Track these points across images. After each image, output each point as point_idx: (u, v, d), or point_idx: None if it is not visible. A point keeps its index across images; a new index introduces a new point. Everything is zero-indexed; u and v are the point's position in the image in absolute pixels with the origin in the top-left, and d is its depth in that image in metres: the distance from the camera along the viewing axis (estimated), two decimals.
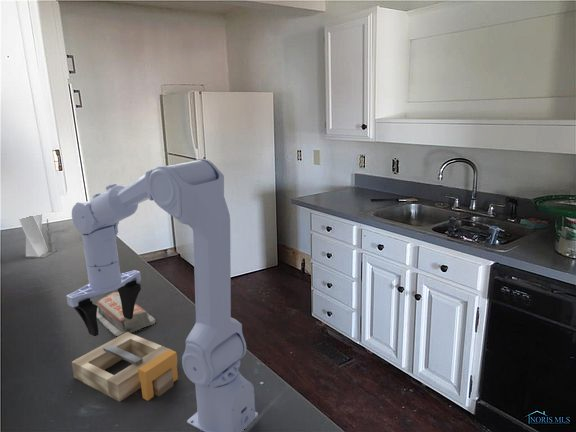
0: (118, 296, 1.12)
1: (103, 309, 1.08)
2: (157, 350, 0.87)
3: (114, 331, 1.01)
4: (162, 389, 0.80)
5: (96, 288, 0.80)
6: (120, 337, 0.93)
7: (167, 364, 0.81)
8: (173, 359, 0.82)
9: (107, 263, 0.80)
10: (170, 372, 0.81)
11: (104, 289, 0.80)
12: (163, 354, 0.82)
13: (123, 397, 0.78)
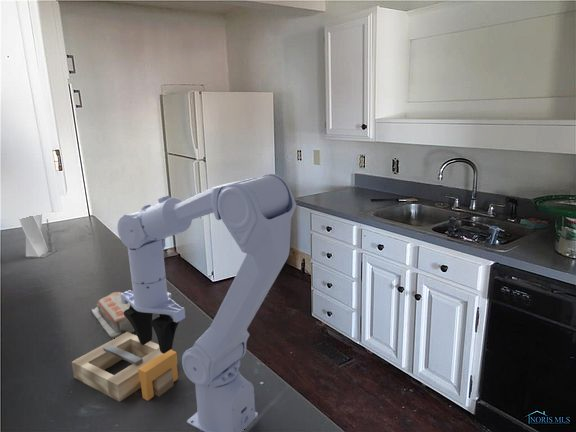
0: (118, 296, 1.12)
1: (102, 309, 1.08)
2: (157, 350, 0.87)
3: (109, 332, 1.01)
4: (162, 389, 0.80)
5: None
6: (120, 337, 0.93)
7: (167, 364, 0.81)
8: (173, 359, 0.82)
9: (155, 280, 0.73)
10: (170, 372, 0.81)
11: (133, 304, 0.76)
12: (163, 354, 0.82)
13: (123, 397, 0.78)
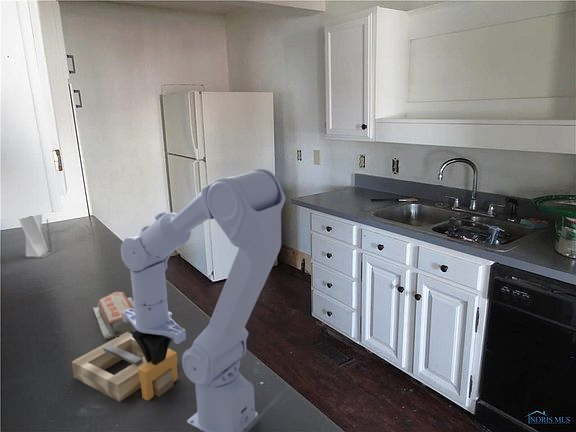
0: (118, 296, 1.12)
1: (101, 308, 1.08)
2: None
3: (104, 332, 1.01)
4: (162, 389, 0.80)
5: None
6: (120, 337, 0.93)
7: (167, 364, 0.81)
8: (173, 359, 0.82)
9: (157, 302, 0.74)
10: (170, 372, 0.81)
11: (134, 324, 0.77)
12: None
13: (123, 397, 0.78)
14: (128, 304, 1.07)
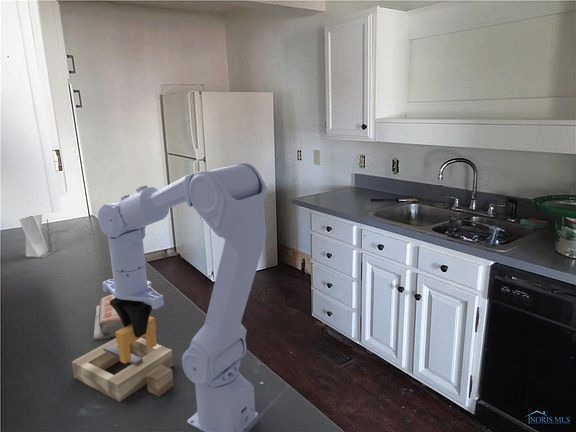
0: None
1: (99, 307, 1.08)
2: (157, 350, 0.87)
3: (95, 333, 1.01)
4: (162, 389, 0.80)
5: None
6: None
7: None
8: (151, 324, 0.83)
9: (134, 268, 0.76)
10: (170, 372, 0.81)
11: (113, 291, 0.78)
12: None
13: (123, 397, 0.78)
14: None
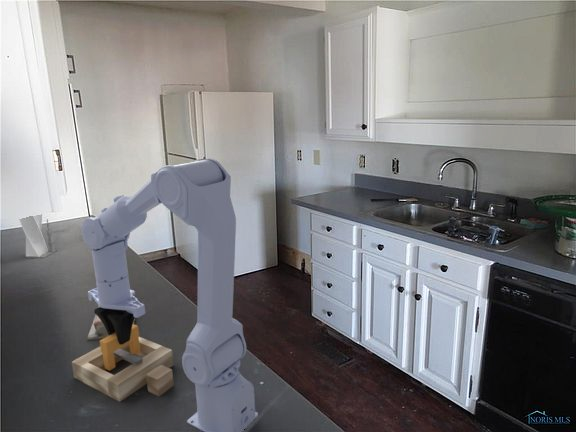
0: None
1: None
2: (157, 350, 0.87)
3: (90, 332, 1.01)
4: (162, 389, 0.80)
5: None
6: None
7: None
8: (134, 332, 0.87)
9: (117, 278, 0.79)
10: (170, 372, 0.81)
11: (97, 300, 0.82)
12: None
13: (123, 397, 0.78)
14: None
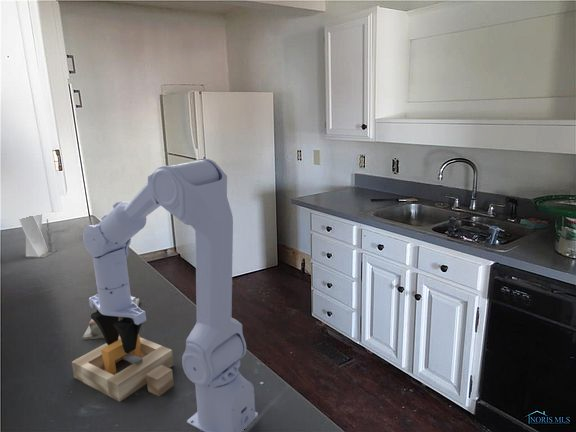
0: None
1: None
2: (157, 350, 0.87)
3: (86, 332, 1.01)
4: (162, 389, 0.80)
5: None
6: (120, 337, 0.93)
7: None
8: None
9: (118, 285, 0.80)
10: (170, 372, 0.81)
11: (98, 307, 0.82)
12: None
13: (123, 397, 0.78)
14: None
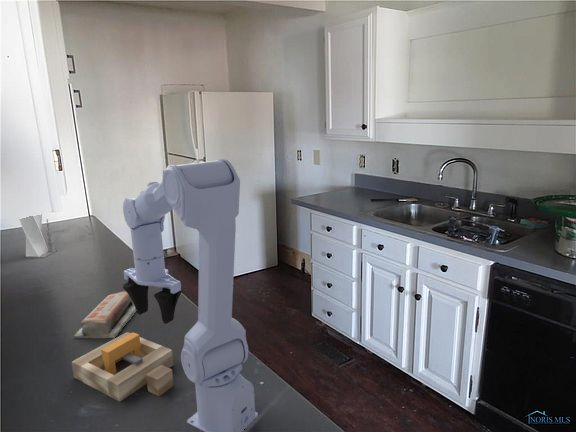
0: (119, 297, 1.11)
1: None
2: (157, 350, 0.87)
3: (79, 330, 1.02)
4: (162, 389, 0.80)
5: None
6: (120, 337, 0.93)
7: (130, 346, 0.86)
8: (136, 341, 0.87)
9: (150, 258, 0.83)
10: (170, 372, 0.81)
11: (135, 278, 0.86)
12: (126, 336, 0.87)
13: (123, 397, 0.78)
14: (114, 308, 1.06)
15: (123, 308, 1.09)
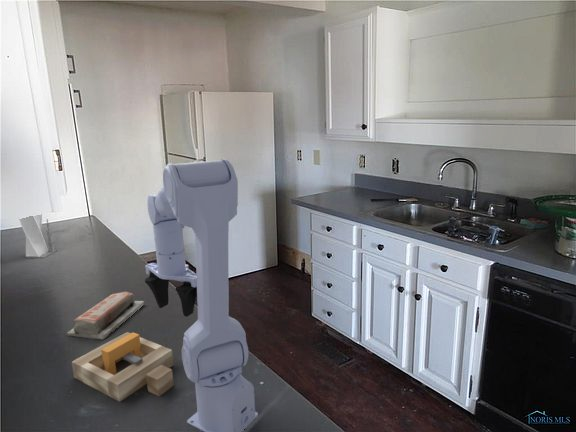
0: (119, 297, 1.11)
1: None
2: (157, 350, 0.87)
3: None
4: (162, 389, 0.80)
5: None
6: (120, 337, 0.93)
7: (130, 346, 0.86)
8: (136, 341, 0.87)
9: (169, 253, 0.86)
10: (170, 372, 0.81)
11: (157, 273, 0.89)
12: (126, 336, 0.87)
13: (123, 397, 0.78)
14: (109, 308, 1.05)
15: (120, 309, 1.09)
